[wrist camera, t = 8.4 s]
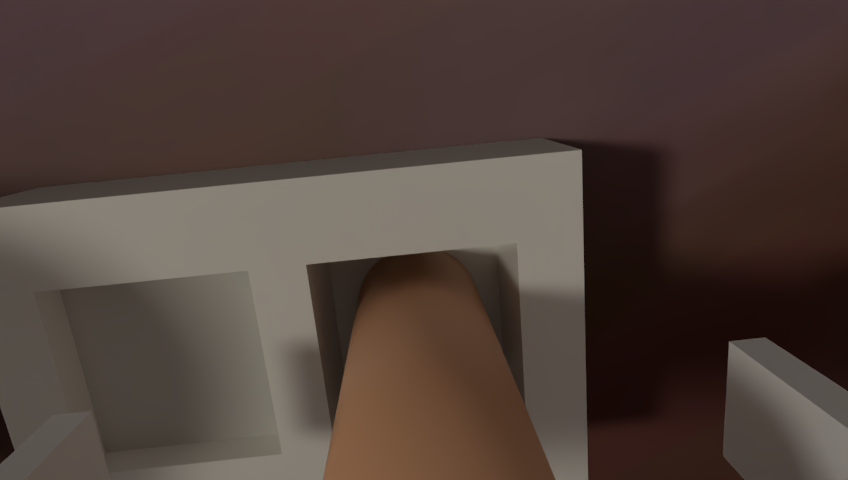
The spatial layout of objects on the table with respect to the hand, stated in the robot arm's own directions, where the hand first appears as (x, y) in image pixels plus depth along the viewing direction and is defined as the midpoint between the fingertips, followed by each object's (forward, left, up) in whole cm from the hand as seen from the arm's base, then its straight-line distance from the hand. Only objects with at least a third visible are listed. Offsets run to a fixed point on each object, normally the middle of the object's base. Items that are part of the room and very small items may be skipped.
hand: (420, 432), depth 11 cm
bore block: (-3, 0, -8) cm, 8 cm away
